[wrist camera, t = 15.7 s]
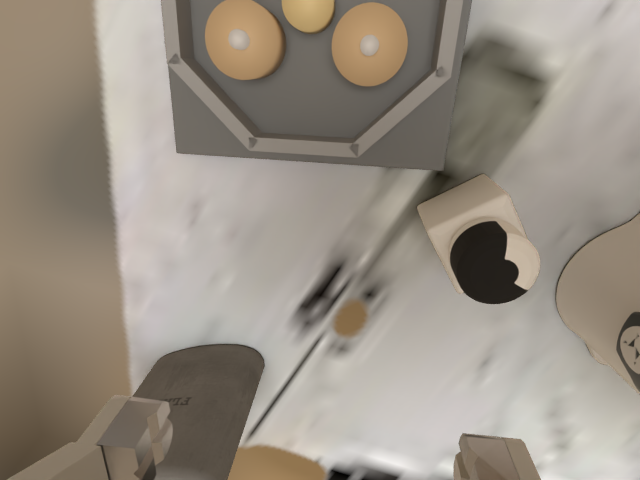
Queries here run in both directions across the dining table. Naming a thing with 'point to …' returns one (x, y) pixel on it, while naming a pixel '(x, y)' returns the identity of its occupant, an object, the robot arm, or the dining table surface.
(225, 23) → the grey octagonal tray
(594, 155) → the dining table surface
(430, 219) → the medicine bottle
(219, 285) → the dining table surface
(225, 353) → the flask
